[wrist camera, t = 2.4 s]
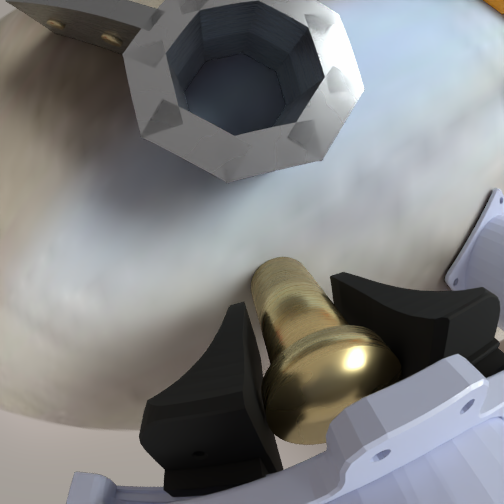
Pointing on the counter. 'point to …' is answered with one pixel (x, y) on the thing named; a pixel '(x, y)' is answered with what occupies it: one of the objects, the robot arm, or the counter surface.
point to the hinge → (213, 47)
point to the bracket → (496, 5)
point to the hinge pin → (312, 354)
